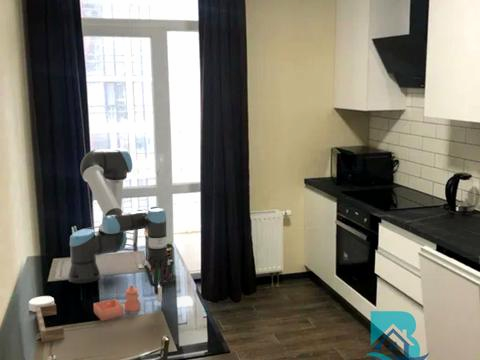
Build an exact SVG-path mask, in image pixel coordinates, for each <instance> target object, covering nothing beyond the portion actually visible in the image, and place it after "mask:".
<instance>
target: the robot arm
mask: <svg viewBox="0 0 480 360" xmlns="http://www.w3.org/2000/svg"><path fill="white" fill-rule="evenodd" d="M79 170H80V175H81V177H82V179H83V181H84V182H86V183H88V186H89V188H90V190H91V192H92V194H93V196H94V198H95V200H96V203H97V205H98V206H99V208H100V211H101V212H102V220H101V224H99V226H98V231H95V229H92V228H91V229H90V228H88V229H85V228H84V229H80V230H77V231H75V232H73V233H72V234H71V235H70V237H69V247H70V249H69V250H70V251H69V252H70V267H69V271H68V274H67V280H68V282H69V283H73V284H89V283H93V282H96V281H99V280H100V279H101V276H102V275H101V270H100V268H99V265H98V263H97V256H102V255H108V254H112V253H113V254H115V253H118V252H121V251H123V250H124V249H125V248H126V245H127V241H128V240H127V239H128V238H127V232H130V231H137V230H143V229H144V230H145V229H148V245H149V246H150V247H149V259H148V262H147V263H145V262H144V263H142V266H143V268H144V270H145V272H146V276H147V280H148V282H149V283H148V284H149V285H150V286H151V287H153V288H154V289H153V290H154V291H153V293H154V294H155V295H156V301H157V302H158V303H162V302H163V294H164V293H165V286H166V285H168V284H169V281H170V279H169V277H170V272H171V267H172V265H173V266H174V261H172V260H169V259H168V257H167V247H166V245H167V242H168V241H167V240H168V239H167V215H166V210H165V209H164V208H159V207H158V208H155V209H151V208H150V209H145V208H144V209H143V208H141V209H138V210H136V211H133V212H126V213H125V212H123V210H122V201H123V190H124V188H123V187H124V181H125V180H126V179H127V176H128V174H130V173H131V172H132V170H133V159H132V157H131V154H130V152H129V151H128V150H127V149H125V148H117V147H116V148H105V149H93V150H91V151H88V153H86V154H85V156H83V158H82V160H81V162H80V169H79ZM166 263H167V268H166V273H165V278H164V266H165V265H166ZM149 264H150V265H151V266H152V267H153V272H152V273H153V277H152V273H151V272H150V269H149V267H150V266H149ZM158 268H159V275H160V280H158Z"/></svg>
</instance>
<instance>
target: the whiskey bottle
mask: <svg viewBox="0 0 480 360" xmlns="http://www.w3.org/2000/svg"><path fill="white" fill-rule="evenodd" d="M155 208H159V207H157V206H151V207H150V209H155ZM144 235H145V236H144V239H145V241H144V242H145V259H144V264H145V263H147V262H148V259H149V247H150V246H149V245H148V229H146V230H145V229H144ZM149 266H150V267H149V269H150V273H151V272H152V273H153V267H152V266H151V265H150V264H149Z"/></svg>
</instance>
